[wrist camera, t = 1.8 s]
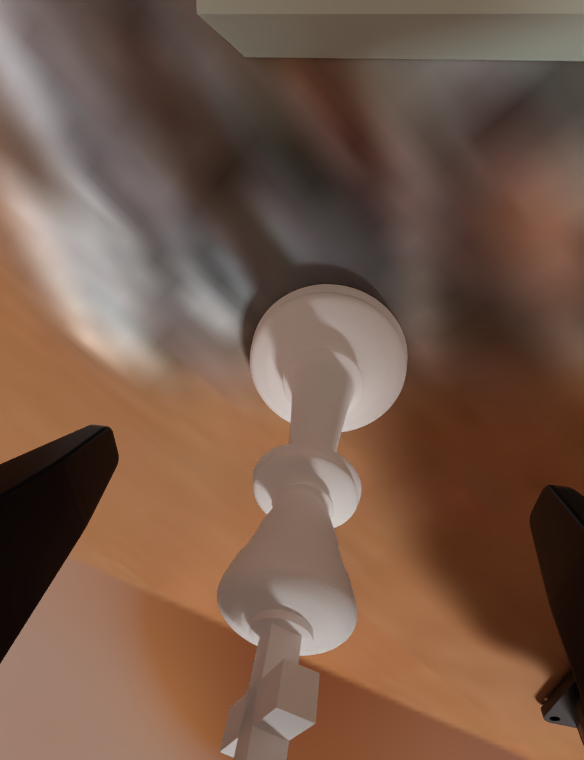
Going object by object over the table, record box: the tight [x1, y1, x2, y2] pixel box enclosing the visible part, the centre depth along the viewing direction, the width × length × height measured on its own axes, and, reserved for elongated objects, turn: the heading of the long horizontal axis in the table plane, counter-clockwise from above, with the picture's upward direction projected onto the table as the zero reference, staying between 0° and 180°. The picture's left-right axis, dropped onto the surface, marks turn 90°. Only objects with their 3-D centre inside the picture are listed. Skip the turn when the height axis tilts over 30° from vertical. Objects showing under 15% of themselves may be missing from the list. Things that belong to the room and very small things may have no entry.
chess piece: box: [217, 284, 408, 760], centre depth 8 cm, size 5×5×10 cm
